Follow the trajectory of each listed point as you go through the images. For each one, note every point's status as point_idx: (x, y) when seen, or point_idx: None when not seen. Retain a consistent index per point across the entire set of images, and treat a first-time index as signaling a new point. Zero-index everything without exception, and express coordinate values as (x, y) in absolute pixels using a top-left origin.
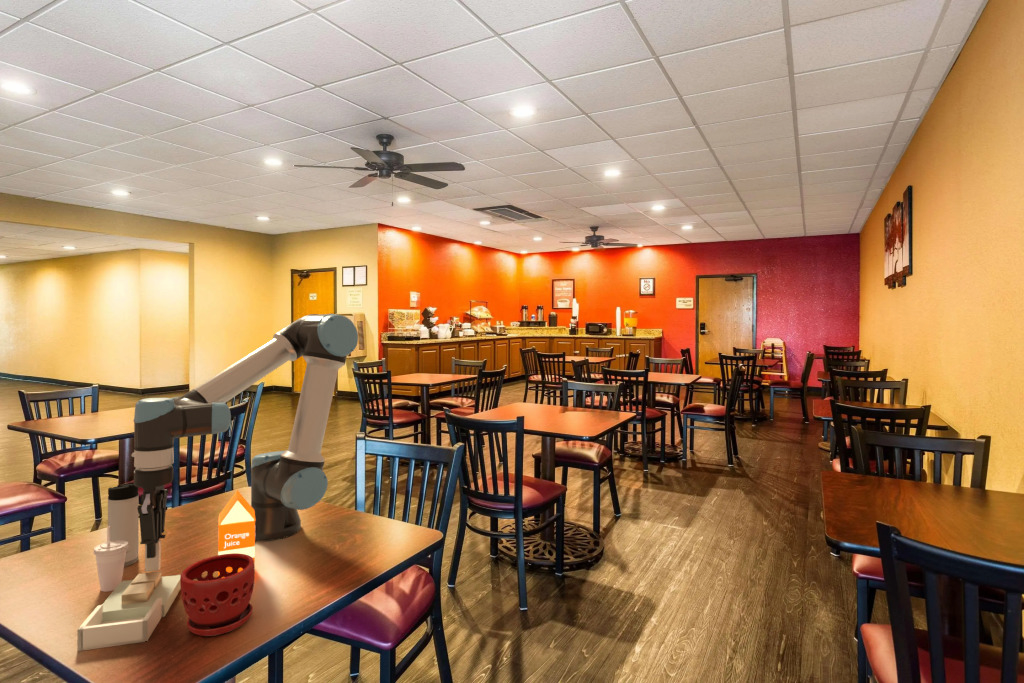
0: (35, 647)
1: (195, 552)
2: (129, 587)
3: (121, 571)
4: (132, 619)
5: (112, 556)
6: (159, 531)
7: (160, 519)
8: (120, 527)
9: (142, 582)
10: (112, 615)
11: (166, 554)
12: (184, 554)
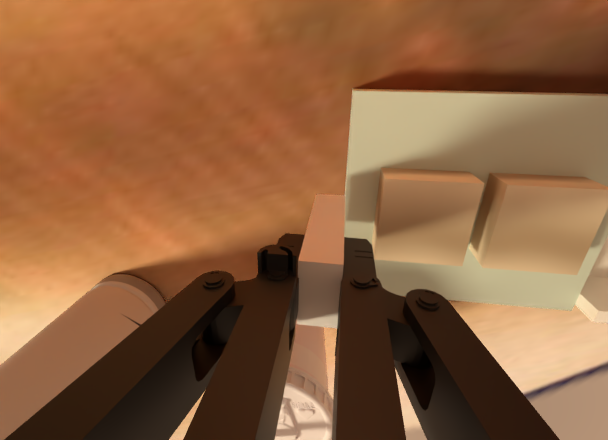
0: (592, 370)
1: (49, 110)
2: (510, 263)
3: None
4: None
5: (325, 386)
6: (287, 306)
7: (263, 394)
8: None
9: (469, 229)
10: None
11: (73, 206)
12: (70, 147)
